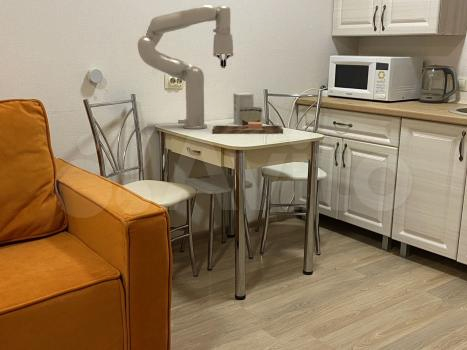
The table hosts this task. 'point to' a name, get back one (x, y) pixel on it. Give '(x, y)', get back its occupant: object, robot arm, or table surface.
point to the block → (254, 125)
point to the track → (246, 130)
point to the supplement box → (241, 105)
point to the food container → (250, 115)
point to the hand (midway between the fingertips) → (223, 67)
